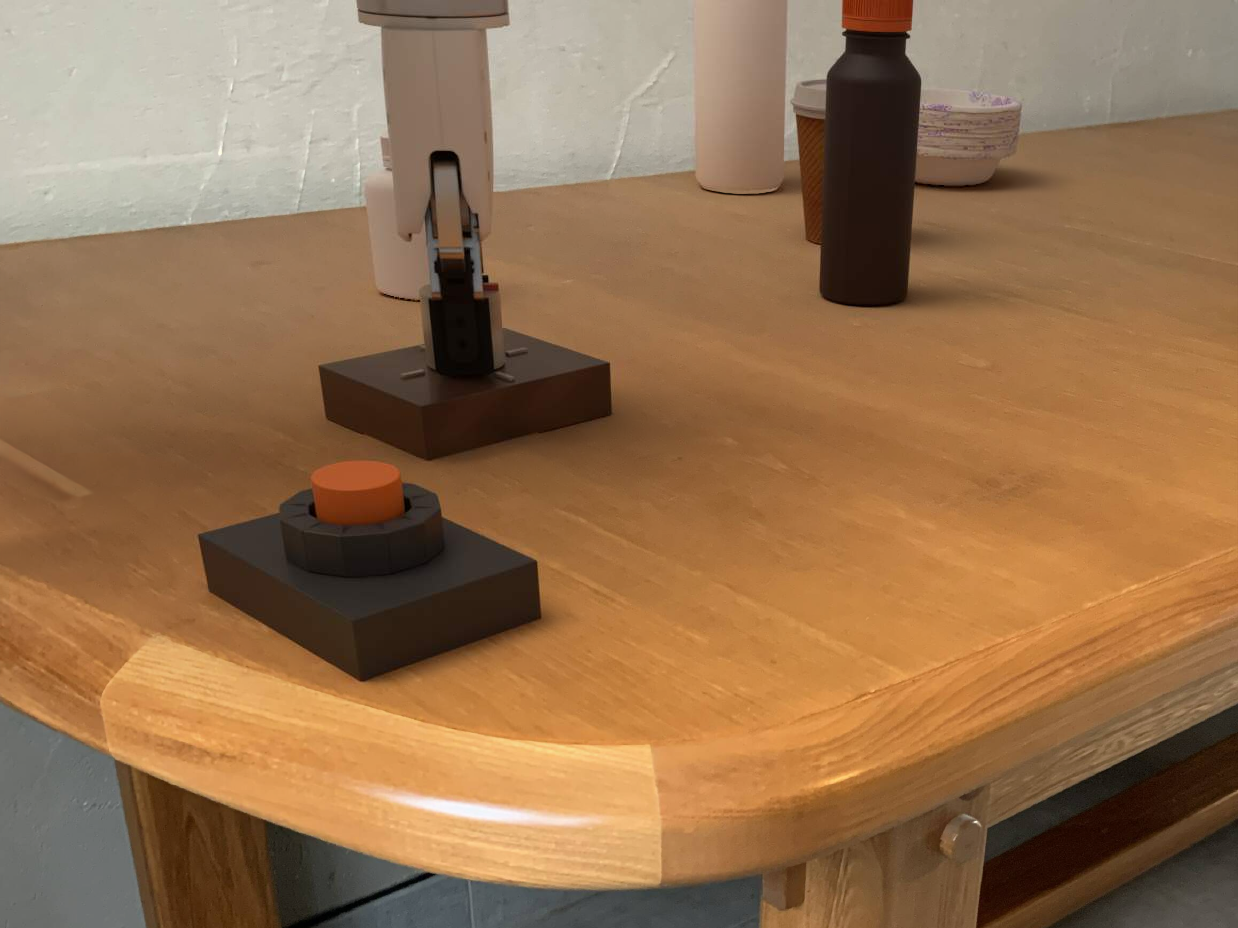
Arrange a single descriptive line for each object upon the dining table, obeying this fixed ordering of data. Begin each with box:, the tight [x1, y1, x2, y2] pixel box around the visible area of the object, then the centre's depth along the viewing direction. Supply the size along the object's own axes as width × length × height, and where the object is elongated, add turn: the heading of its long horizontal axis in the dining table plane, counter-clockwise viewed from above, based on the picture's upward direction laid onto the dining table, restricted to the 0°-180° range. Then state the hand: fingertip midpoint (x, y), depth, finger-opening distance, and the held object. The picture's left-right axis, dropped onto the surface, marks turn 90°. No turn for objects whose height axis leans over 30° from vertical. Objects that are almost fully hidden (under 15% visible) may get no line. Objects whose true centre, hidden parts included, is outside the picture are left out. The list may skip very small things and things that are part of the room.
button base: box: [197, 482, 542, 683], centre depth 65 cm, size 9×12×4 cm
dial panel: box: [318, 327, 613, 462], centre depth 87 cm, size 13×10×3 cm
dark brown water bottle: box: [818, 0, 922, 306], centre depth 110 cm, size 7×7×20 cm
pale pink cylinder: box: [693, 0, 788, 191], centre depth 143 cm, size 9×9×30 cm
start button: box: [310, 460, 405, 525], centre depth 63 cm, size 4×4×2 cm
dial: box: [419, 281, 505, 370], centre depth 85 cm, size 4×4×4 cm
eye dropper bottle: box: [364, 130, 430, 301], centre depth 108 cm, size 4×6×12 cm
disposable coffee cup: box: [789, 78, 827, 245], centre depth 129 cm, size 10×10×12 cm
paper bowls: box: [915, 87, 1023, 187], centre depth 157 cm, size 15×15×8 cm
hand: (465, 356), depth 86 cm, fingers closed on dial, 4 cm apart
